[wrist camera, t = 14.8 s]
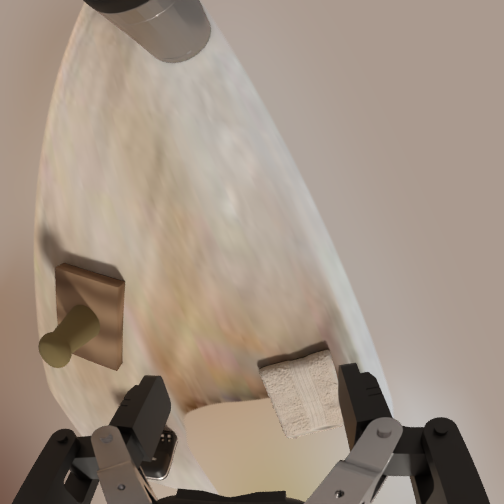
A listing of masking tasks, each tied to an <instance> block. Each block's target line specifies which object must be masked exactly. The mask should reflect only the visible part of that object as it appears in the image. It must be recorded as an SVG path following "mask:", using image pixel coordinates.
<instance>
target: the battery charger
mask: <svg viewBox="0 0 504 504" xmlns="http://www.w3.org/2000/svg"><path fill="white" fill-rule="evenodd" d="M177 443H178V438H177V437H176V435H175V434H174V433H172V432H168V431H163V432H162V435H161V437H160V440H159V443H158V445H157V448H156V450H155V453H154V456H153V458H152V461H151V462H147V461H142V462H141V464H140V467H141V468H142V470H143V472H144V474H145V476H146V478H147V479H153V480H163V479H165V478H166V477H167V475H168V473H169V470H170V467H171V464H172V460H173V456H174V452H175V449H176V446H177Z"/></svg>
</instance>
